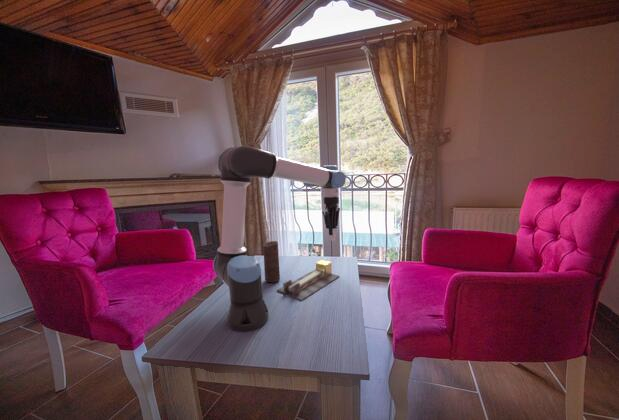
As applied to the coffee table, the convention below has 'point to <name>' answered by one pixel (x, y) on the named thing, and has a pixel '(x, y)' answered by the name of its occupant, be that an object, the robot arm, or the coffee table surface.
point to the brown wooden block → (271, 261)
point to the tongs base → (306, 286)
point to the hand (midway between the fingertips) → (332, 240)
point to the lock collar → (324, 267)
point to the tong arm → (306, 279)
